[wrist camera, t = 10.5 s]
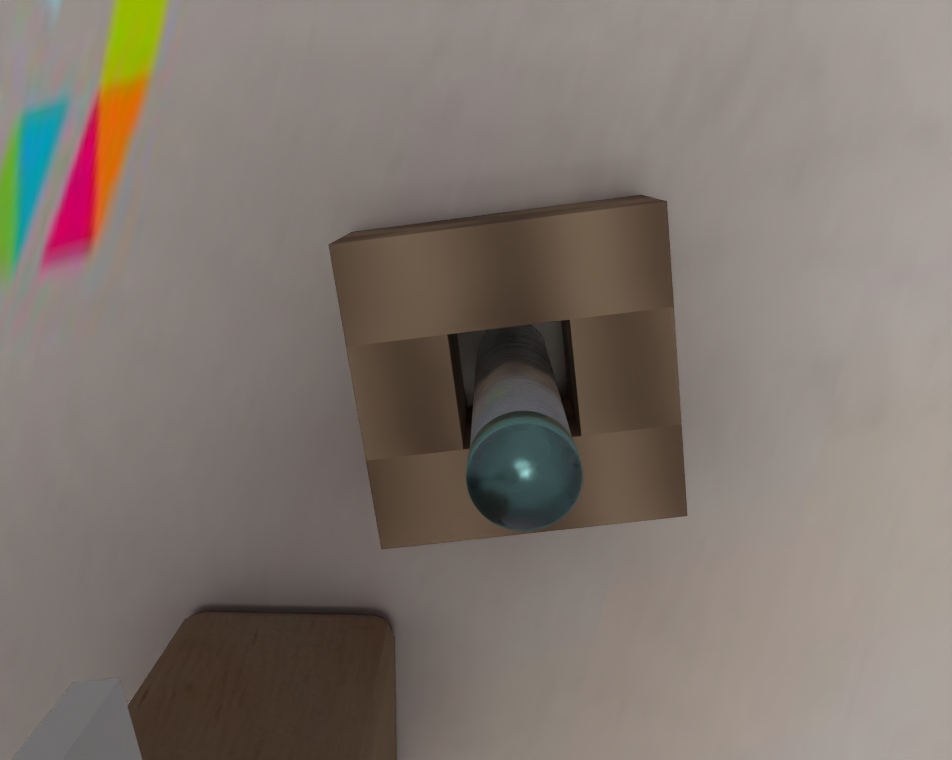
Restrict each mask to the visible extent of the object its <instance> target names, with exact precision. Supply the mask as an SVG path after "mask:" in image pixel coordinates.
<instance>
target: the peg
mask: <svg viewBox="0 0 952 760" xmlns="http://www.w3.org/2000/svg"><path fill="white" fill-rule="evenodd" d="M466 483H467V489H468V492H469V495H470V498H471V500H472V502H473V504H474V505H475V507H476V508H477V509H478V511H479V512H480V513H481V514H482V515H483V516H484V517H486V518H487V519H488V520H489V521H491V522H493V523H494V524H496V525H498V526H500V527H503V528H506V529H510V530H515V531H533V530H539V529H542V528H545V527H548V526H550V525H552V524H554V523H556V522H557V521H559V520H560V519H562V518H563V517H564V516H565V515H566V514H567V513H568V512H569V511H570V510H571V509H572V507H573V506H574V505H575V503H576V501H577V499H578V497H579V495H580V492H581V488H582V483H583V469H582V464H581V460H580V457H579V454H578V450H577V447H576V444H575V442H574V440H573V438H572V436H571V433H570V429H569V426H568V422H567V419H566V415H565V412H564V408H563V405H562V402H561V398H560V395H559V391H558V388H557V384H556V381H555V377H554V374H553V370H552V367H551V364H550V360H549V357H548V353H547V350H546V346H545V343H544V341H543V338H542V337H541V335H540V334H539V333H538V331H537V330H536V329H534V328H533V327H532V326H530V325H521V326H512V327H504V328H496V329H488V330H487V331H486V332H485V333H484V334H483V336H482V337H481V339H480V341H479V344H478V347H477V356H476V370H475V385H474V399H473V413H472V427H471V441H470V449H469V452H468V458H467V471H466Z"/></svg>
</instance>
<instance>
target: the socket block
mask: <svg viewBox="0 0 952 760" xmlns="http://www.w3.org/2000/svg"><path fill="white" fill-rule="evenodd" d="M329 250H330V256H331V261H332V267H333V273H334V279H335V284H336V290H337V296H338V302H339V307H340V313H341V319H342V325H343V330H344V336H345V342H346V348H347V354H348V359H349V365H350V371H351V377H352V382H353V388H354V394H355V400H356V405H357V411H358V417H359V423H360V428H361V434H362V440H363V446H364V451H365V457H366V463H367V469H368V474H369V480H370V486H371V492H372V498H373V503H374V509H375V515H376V521H377V526H378V532H379V538H380V544H381V549H389V548H398V547H407V546H417V545H426V544H435V543H444V542H453V541H462V540H472V539H481V538H490V537H499V536H508V535H517V534H527V533H536V532H545V531H554V530H563V529H572V528H581V527H591V526H600V525H609V524H618V523H627V522H636V521H646V520H655V519H664V518H673V517H682V516H687V503H686V488H685V473H684V457H683V442H682V427H681V411H680V396H679V380H678V365H677V350H676V334H675V319H674V304H673V288H672V273H671V258H670V242H669V227H668V212H667V201H663V200H659V199H655V198H651V197H647V196H643V195H637V196H629V197H621V198H614V199H606V200H598V201H590V202H583V203H575V204H567V205H559V206H552V207H544V208H536V209H528V210H521V211H513V212H505V213H497V214H490V215H482V216H474V217H466V218H459V219H451V220H443V221H435V222H427V223H420V224H412V225H404V226H396V227H389V228H381V229H373V230H365V231H358V232H351V233H349V234H348V235H346V236H344V237H342V238H340V239H338V240H337V241H335V242H333V243H331V244H329ZM553 321H561V323H562V333H563V343H564V353H565V362H566V372H567V382H568V392H569V398H566V399H561V402H562V405H563V408H564V412H565V415H566V419H567V422H568V426H569V429H570V433H571V436H572V438H573V440H574V442H575V444H576V447H577V450H578V454H579V457H580V460H581V464H582V469H583V483H582V488H581V492H580V495H579V497H578V499H577V501H576V503H575V505H574V506H573V507H572V509H571V510H570V511H569V512H568V513H567V514H566V515H565V516H564V517H563V518H562V519H560V520H559V521H557V522H556V523H554V524H552V525H550V526H548V527H545V528H542V529H539V530H533V531H515V530H510V529H506V528H503V527H500V526H498V525H496V524H494V523H493V522H491V521H489V520H488V519H487V518H486V517H484V516H483V515H482V514H481V513H480V512H479V511H478V509H477V508H476V507H475V505H474V504H473V502H472V500H471V498H470V495H469V492H468V489H467V483H466V471H467V458H468V452H469V449H470V441H471V427H472V413H473V410H467V407H466V400H465V392H464V385H463V378H462V370H461V363H460V356H459V348H458V341H457V334H456V333H463V332H471V331H480V330H488V329H496V328H504V327H512V326H521V325H529V324H537V323H545V322H553Z"/></svg>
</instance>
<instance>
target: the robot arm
mask: <svg viewBox="0 0 952 760" xmlns="http://www.w3.org/2000/svg"><path fill="white" fill-rule="evenodd" d="M12 760H142V757H141V753H140V750H139V746H138V742H137V739H136V735H135V732H134V728H133V724H132V721H131V717H130V714H129V710H128V706H127V703H126V699H125V696H124V692H123V688H122V685H121V681H120V678H114V679H105V680H95V681H86V682H76V683H72V684H71V685H70V686H69V688H68V689H67V690H66V692H65V693H64V694H63V695H62V697H61V698H60V699H59V700H58V702H57V703H56V704H55V705H54V707H53V708H52V709H51V710H50V712H49V713H48V714H47V716H46V717H45V718H44V719H43V721H42V722H41V723H40V724H39V726H38V727H37V728H36V729H35V731H34V732H33V733H32V735H31V736H30V737H29V738H28V740H27V741H26V742H25V743H24V745H23V746H22V747H21V748H20V750H19V751H18V752H17V754H16V755H15V756H14V757H13V759H12Z"/></svg>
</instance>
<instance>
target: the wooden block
mask: <svg viewBox="0 0 952 760" xmlns="http://www.w3.org/2000/svg"><path fill="white" fill-rule="evenodd" d="M128 710H129V714H130V717H131V721H132V724H133V728H134V732H135V735H136V739H137V742H138V746H139V750H140V753H141V757H142V760H396V694H395V637H394V635H393V633H392V631H391V629H390V627H389V624H388V621H387V619H384V618H381V617H378V616H375V615H337V614H291V613H245V612H202V613H199V614H195V615H192V616H190V617H188V618H187V619H185V620H184V622H183V623H182V625H181V626H180V628H179V629H178V631H177V632H176V634H175V635H174V637H173V638H172V640H171V641H170V643H169V644H168V646H167V647H166V649H165V650H164V652H163V653H162V655H161V656H160V658H159V659H158V661H157V662H156V664H155V665H154V667H153V669H152V670H151V672H150V673H149V675H148V676H147V678H146V679H145V681H144V682H143V684H142V685H141V687H140V688H139V690H138V691H137V693H136V694H135V696H134V697H133V699H132V700H131V702H130V703H129V705H128Z"/></svg>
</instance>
